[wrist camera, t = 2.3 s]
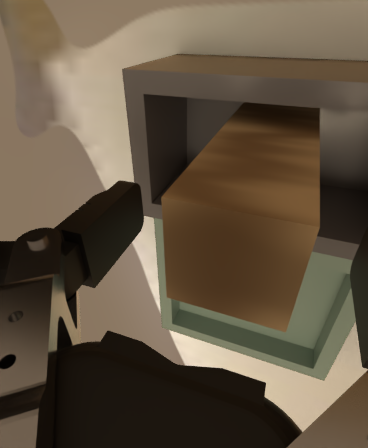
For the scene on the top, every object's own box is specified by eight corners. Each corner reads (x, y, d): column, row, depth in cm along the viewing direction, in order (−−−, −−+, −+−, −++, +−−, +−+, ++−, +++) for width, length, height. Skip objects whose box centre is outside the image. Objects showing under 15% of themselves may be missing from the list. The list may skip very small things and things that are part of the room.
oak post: (319, 101, 17) (319, 227, 7) (303, 167, 19) (285, 332, 9) (249, 96, 18) (161, 196, 8) (241, 158, 20) (166, 297, 10)
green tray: (376, 239, 21) (383, 266, 19) (323, 351, 29) (324, 380, 27) (168, 199, 26) (154, 217, 23) (172, 306, 34) (161, 327, 31)
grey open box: (435, 63, 15) (500, 90, 10) (376, 200, 20) (398, 270, 14) (177, 53, 19) (122, 69, 14) (179, 169, 24) (138, 214, 18)
